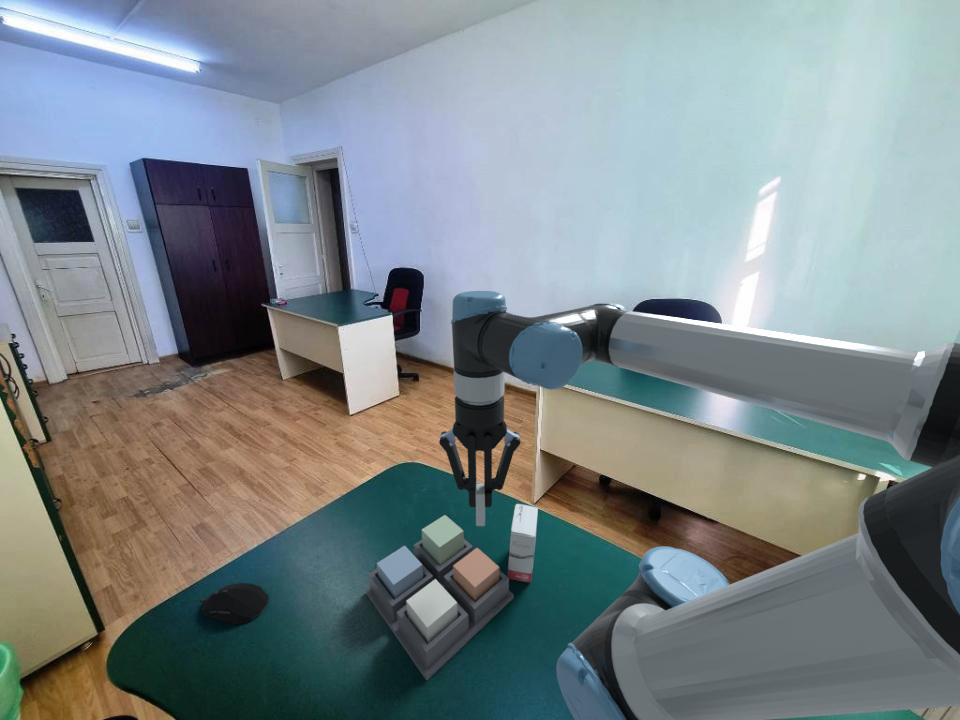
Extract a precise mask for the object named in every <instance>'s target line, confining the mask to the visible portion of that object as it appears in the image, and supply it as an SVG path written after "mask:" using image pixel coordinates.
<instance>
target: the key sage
mask: <svg viewBox="0 0 960 720" xmlns="http://www.w3.org/2000/svg"><path fill="white" fill-rule="evenodd" d="M464 535H465V533H464V530H463V528H461V527H460V526H459V525H458V524H456V523H455V521H453V520H452V519H450V517H448V516H447V515H445V514H444V515H443V516H441V517H438V519H436V520H435V521H433V522H431V523H430V524H428V525H426V526H425V527H423V528H422V529H421V540H422V545H423V550H424V551H425V552H426V553H427V554H428V555H429V556H430V557H431V558H432V559H433V560H434V561H435V562H436V563H437V564H438V565H439V566H441V565H443V564H444V563H445V562H447V561H448V560H449V559H451V558H452V557H453V556H455V555H456V554H458V553H459V552H460V551H462V550H463V549H464V539H465V538H464Z"/></svg>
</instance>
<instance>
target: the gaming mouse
mask: <svg viewBox="0 0 960 720" xmlns="http://www.w3.org/2000/svg"><path fill="white" fill-rule="evenodd" d="M197 601H200V602H202V603H203V604H202V605H203V606H202V608H201V613H202V614H203V615H204V616H205V618H209V619H212V620H216V621H220V622H224V623H227V624H233V625H243V624H247V623H249V622H250V621H252V620H254V619H256V617H258V616H259V615H261V614H262V613H263V611H264V610H265V609H266V607H267V606H268V603H269V595H268V594H267V593H266V592H265V590H263V588H262V587H261V586H260V585H256V584H253V583H246V582H245V583H244V582H239V583H232V584H229V585H225V586H223V587H220V588H219V589H218V590H215V591H214V592H213V593H211V594H210V595H209V596H208V597H207V598H205V597H202V598H197Z"/></svg>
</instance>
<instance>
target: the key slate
mask: <svg viewBox="0 0 960 720" xmlns="http://www.w3.org/2000/svg"><path fill="white" fill-rule="evenodd" d="M408 549H409V548H408V547H407V546H406V545H403V546H401V547H400V548H399V549H397V550H395V551H394V552H392V553H391V554H388V555H387V556H386V557H384V558H383V559H381V560H379V561H378V562H376V569H378V577H379V581H380V582H381V584H382V585H383V586H384V588H385V589H386V590H387V592H388V593H389V594H390V596H391V597H392V598H393V600H395V599H396V598H397V597H399V596H400V595H402V594H403V593H404V592H406V591H407V590H408V589H410V588H411V587H412V586H414V585H415V584H417V583H418V582H419V581H421V580H422V579H423V566H422V564H421V563H420V561H419V560H418V559H417V558H416V557H415V556H414V553H413V552H412V551H410V549H409V550H408Z"/></svg>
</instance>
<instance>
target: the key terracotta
mask: <svg viewBox="0 0 960 720" xmlns="http://www.w3.org/2000/svg"><path fill="white" fill-rule="evenodd" d="M499 570H500V566H499V565H497V563H495V562H494V561H493V560H492V559H491V558H490V557H489V556H488V555H487V554H485V553H484V552H483V551H482V550H481V549H480V548H478V547H476V548H474V549H473V551H472V552H471V553H469V554H468V555H467V556H465V557H464V558H463V559H461V560H460V561H459V562H457V563H456V564H455V565H453V579H454V582H455V583H456V584H457V585H458V586H459V587H460V588H461V589H462V590H463V591H464V592H465V593H466V594H467V595H468V596H469V597H470V598H471V599H472V600H473V601H474V602H476V601H478V600H479V599H480V598H481V597H482V596H483V595H484V594H486V593H487V592H488V591H489V590H490V589H491V588H492V587H494V586H495V585H496V584H497V583H498V582H499Z"/></svg>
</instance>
